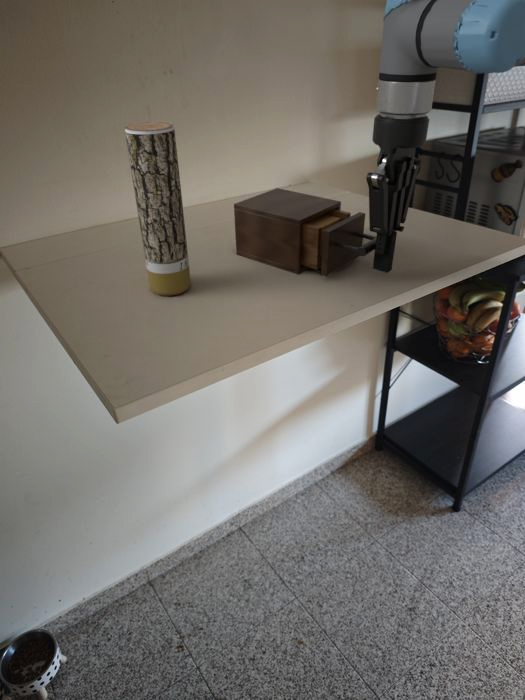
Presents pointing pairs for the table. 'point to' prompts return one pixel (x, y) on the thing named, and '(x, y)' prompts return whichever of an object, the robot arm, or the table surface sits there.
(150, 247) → the paper tube
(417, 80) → the robot arm
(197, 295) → the table surface
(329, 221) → the small cardboard box
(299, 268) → the cabinet
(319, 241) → the drawer
